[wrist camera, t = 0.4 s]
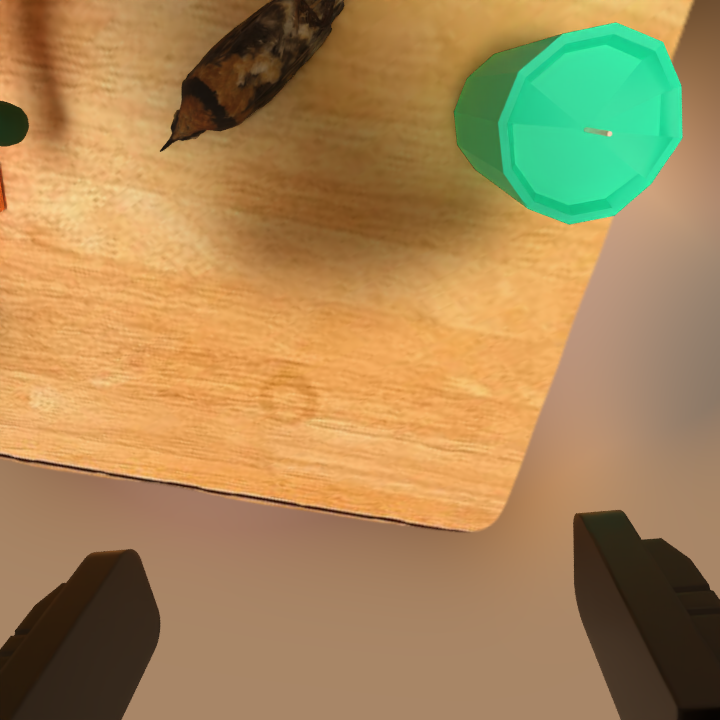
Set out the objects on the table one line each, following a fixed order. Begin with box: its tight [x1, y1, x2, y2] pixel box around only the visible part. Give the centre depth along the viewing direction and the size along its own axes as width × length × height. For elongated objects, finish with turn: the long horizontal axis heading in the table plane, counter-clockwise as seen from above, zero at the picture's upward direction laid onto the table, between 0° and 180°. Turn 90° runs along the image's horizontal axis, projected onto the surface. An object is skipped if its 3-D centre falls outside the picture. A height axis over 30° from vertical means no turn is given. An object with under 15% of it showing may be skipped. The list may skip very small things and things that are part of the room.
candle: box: [454, 23, 682, 224], centre depth 22 cm, size 6×6×12 cm
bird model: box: [160, 0, 344, 152], centre depth 25 cm, size 3×14×3 cm, turn 123°
